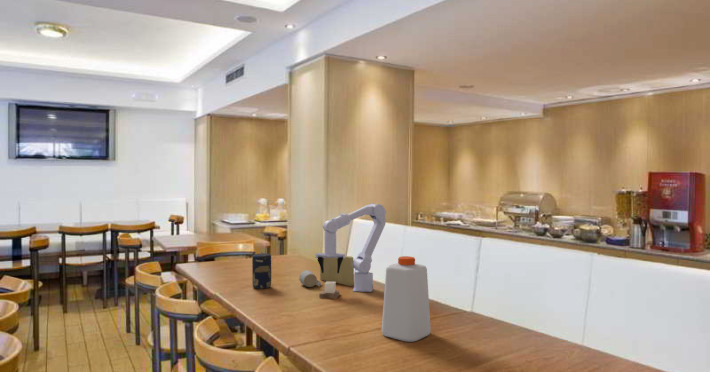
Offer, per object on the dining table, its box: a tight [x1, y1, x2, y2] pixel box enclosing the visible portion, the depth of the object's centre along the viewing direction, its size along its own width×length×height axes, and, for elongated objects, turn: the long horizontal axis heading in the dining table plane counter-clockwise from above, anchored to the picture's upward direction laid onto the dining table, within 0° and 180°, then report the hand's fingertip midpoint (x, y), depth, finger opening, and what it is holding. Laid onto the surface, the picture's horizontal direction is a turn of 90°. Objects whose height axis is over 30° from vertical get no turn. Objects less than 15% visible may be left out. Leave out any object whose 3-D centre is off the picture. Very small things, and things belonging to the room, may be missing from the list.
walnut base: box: [318, 289, 340, 300], centre depth 228 cm, size 8×8×2 cm
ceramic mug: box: [298, 269, 322, 288], centre depth 249 cm, size 11×8×8 cm
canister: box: [251, 252, 272, 290], centre depth 244 cm, size 10×10×18 cm
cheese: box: [319, 255, 355, 287], centre depth 257 cm, size 22×10×15 cm, turn 42°
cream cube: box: [324, 281, 337, 293], centre depth 228 cm, size 4×4×4 cm
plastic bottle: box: [381, 255, 432, 343], centre depth 173 cm, size 15×15×28 cm
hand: (330, 272), depth 234 cm, fingers open, 7 cm apart
